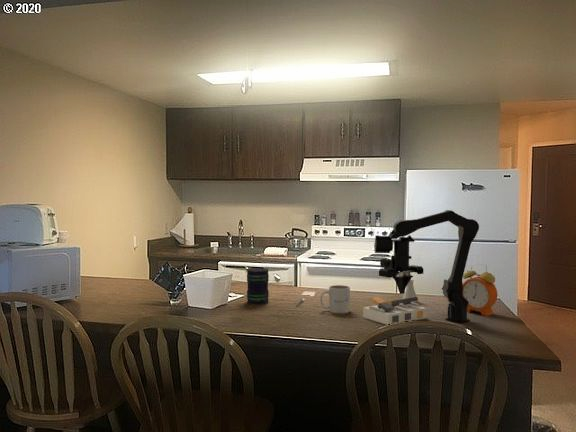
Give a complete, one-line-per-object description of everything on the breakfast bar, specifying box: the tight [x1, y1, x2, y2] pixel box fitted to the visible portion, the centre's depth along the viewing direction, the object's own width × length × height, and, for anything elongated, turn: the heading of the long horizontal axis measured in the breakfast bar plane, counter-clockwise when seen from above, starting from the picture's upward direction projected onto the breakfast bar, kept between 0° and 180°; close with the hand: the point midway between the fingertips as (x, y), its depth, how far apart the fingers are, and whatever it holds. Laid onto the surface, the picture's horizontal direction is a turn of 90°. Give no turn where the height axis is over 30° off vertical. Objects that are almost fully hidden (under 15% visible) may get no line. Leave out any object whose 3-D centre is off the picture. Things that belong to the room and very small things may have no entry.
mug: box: [319, 284, 351, 314], centre depth 199 cm, size 12×9×10 cm
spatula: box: [295, 291, 316, 308], centre depth 220 cm, size 6×29×2 cm, turn 166°
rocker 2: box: [384, 298, 406, 307], centre depth 186 cm, size 9×4×2 cm, turn 32°
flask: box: [402, 278, 419, 304], centre depth 216 cm, size 7×7×10 cm
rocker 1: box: [370, 296, 394, 312], centre depth 183 cm, size 9×4×2 cm, turn 32°
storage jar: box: [246, 267, 270, 306], centre depth 214 cm, size 10×10×15 cm
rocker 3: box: [399, 296, 419, 305], centre depth 190 cm, size 9×4×2 cm, turn 32°
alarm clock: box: [462, 263, 499, 317], centre depth 195 cm, size 13×6×20 cm, turn 40°
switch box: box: [362, 302, 427, 326], centre depth 186 cm, size 14×20×5 cm
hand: (401, 293), depth 183 cm, fingers closed
